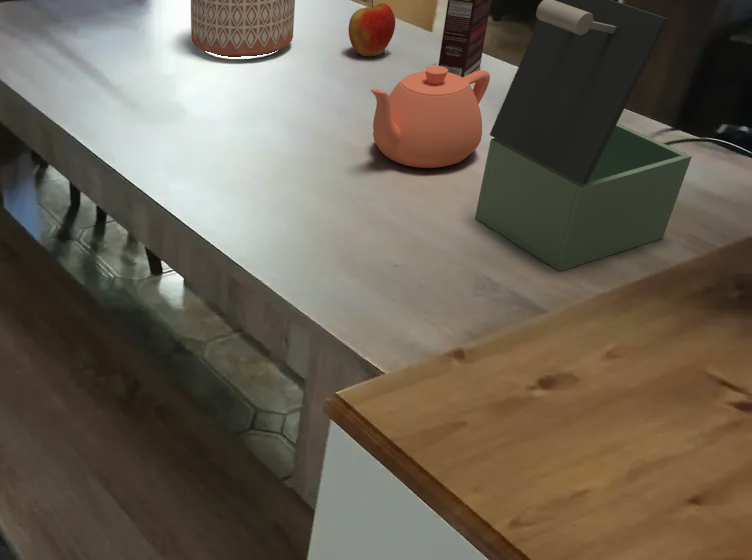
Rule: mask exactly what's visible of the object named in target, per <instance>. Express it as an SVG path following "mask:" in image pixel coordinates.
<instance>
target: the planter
mask: <svg viewBox="0 0 752 560" xmlns="http://www.w3.org/2000/svg"><path fill="white" fill-rule="evenodd" d="M295 5H296V0H190V33H191V34H190V36H191V37H190V41H191V43H192V44H193V46H195V47H196V48H198V50H202V51H203V50H204V51H207V52H211V53H214V54H217V55H221V56H228V57H241V56H257V55H263V54H269V53H272V52H275V51H277V50H279V49H280V50H281V49H283V48H285V47H287V46H288V45H290V44H291V42H293V39H294V25H295V8H296V7H295ZM280 50H279V51H280ZM204 51H203V52H204Z"/></svg>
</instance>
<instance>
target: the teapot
mask: <svg viewBox="0 0 752 560" xmlns="http://www.w3.org/2000/svg"><path fill="white" fill-rule="evenodd" d="M490 79H491V75H490V73H489V71H487V70H485V69H480V70H479V71H476V72H473V73H471V74H469V75H467V76H465V77H461V76H458V75H456V74H453V73H449V72H448V69H447V68H445V67H442V66H438V65H431V66H427V67H425V69H424V71H423V70H422V71H418V72H413V73H410V74H408V75H406V76H404V77H403V78H401V80H400V81H399V82H398V83H397V84H396V85H395V87H393V89H392V91H390V93H389V94H388V93H387V91H385V90H381V89H375V88H374V89H370V90H369V91H370V92H371V93H372V94H373V95H374V97H375V100H376V106H375V107H376V108H375V111H374V116H373V122H372V129H373V132H372V137H373V141H374V143H375V144H376V146H377V148H378V149H379V151H380V152H381V153H382V154H383V155H384V156H385V157H386V158H387V159H389V160H391V161H393V162H395V163H398V164H401V165H404V166H407V167H410V168H411V167H412V168H419V169H423V168H424V169H433V168H435V169H436V168H443V167H448V166H452V165H455V164H458V163H460V162H462V161H464V160H465V159H466V158H467V157H469V156H470V155H471V154H472V153H473V152H474V151H475V150H476V149H477V148H478V146H479V145H480V143H481V141H482V136H483V119H482V118H483V117H482V112H481V108H480V105H479V104H480V103H481V102H482V99H483V97H484V95H485V93H486V92H487V90H488V87H489V84H490ZM473 84H474V85H473ZM471 85H473V87H472V86H471Z"/></svg>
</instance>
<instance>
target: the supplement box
mask: <svg viewBox="0 0 752 560" xmlns="http://www.w3.org/2000/svg"><path fill="white" fill-rule="evenodd" d="M491 4H492V0H447V5H446V11H445V18H444V24H443V32H442V39H441V44H440V52H439V58H438V65H437V66H442V67H445V68H447V69H448V72H449V73H453V74H456V75H458V76H461V77H465V76H467V75H469V74H471V73H473V72H476V71H479V70H481V62H482V57H483V51H484V47H485V46H484V44H485V38H486V33H487V28H488V22H489V15H490V9H491Z"/></svg>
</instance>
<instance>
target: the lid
mask: <svg viewBox="0 0 752 560" xmlns="http://www.w3.org/2000/svg"><path fill="white" fill-rule="evenodd" d="M535 14H536V15H535V16H536V19H537V24H536V26H535V28H534V30H533V33H532V35H531V37H530V40H529V41H528V44H527V47H526V48H525V51H524V54H523V56H522V59H521V61H520V63H519V65H518V67H517V70H516V73H515V74H514V77H513V79H512V81H511V84H510V85H509V88H508V91H507V93H506V95H505V98H504V100H503V102H502V105H501V107H500V110H499V112H498V114H497V116H496V118H495V121H494V123H493V125H492V128H491V130H490V133H489V136H490V137H492V138H496V139H498V140H500V141H502V142H504V143H505V144H507V145H509V146H511V147H513V148H515V149H517V150H519V151H521V152H522V153H524V154H526V155H528V156H530V157H532V158H534V159H536V160H537V161H539V162H541V163H543V164H545V165H547V166H549V167H551V168H553V169H554V170H556V171H558V172H560V173H562V174H564V175H566V176H568V177H569V178H571V179H573V180H575V181H577V182H579V183H581V184H587V182H588V180H589V178H590V176H591V174H592V172H593V170H594V168H595V166H596V164H597V162H598V160H599V158H600V156H601V154H602V152H603V150H604V148H605V146H606V144H607V142H608V140H609V138H610V136H611V134H612V132H613V130H614V128H615V126H616V124H617V123H619V120H620V118H621V116H622V114H623V112H624V110H625V109H626V107H627V104H628V102H629V101H630V99H631V97H632V94H633V93H634V90H635V88H636V86H637V85H638V82H639V81H640V78H641V77H642V75H643V72H644V71H645V69H646V66H647V65H648V63H649V60H650V58H651V57H652V55H653V53H654V51H655V49H656V47H657V44H658V43H659V41H660V40H661V37H662V35H663V33H664V31H665V29H666V27H667V25H668V23H669V21H670V18H667V17H664V16H661V15H658V14H655V13H652V12H650V11H646V10H644V9H640V8H638V7H634V6H631V5H629V4H626V3H623V2H619V1H616V0H542V1H541V2H540V3H539V4H538V5H537V8H536V12H535Z"/></svg>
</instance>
